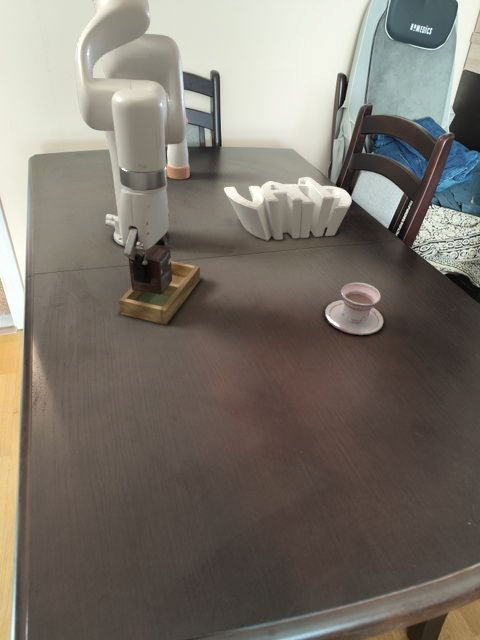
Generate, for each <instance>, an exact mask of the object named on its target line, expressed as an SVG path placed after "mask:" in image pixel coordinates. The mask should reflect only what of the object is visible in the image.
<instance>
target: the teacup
mask: <svg viewBox="0 0 480 640" xmlns="http://www.w3.org/2000/svg"><path fill="white" fill-rule="evenodd" d="M340 294H341V298H342V299H339V300H336V301H333V302H331V303H329V304H328V305H327V306H326V308H325V310H324V314H325V315H324V317H325V318H326V320H327V322H328V323H329V324H330V325H331V326H333V327H334V328H336V329H338V331H341V332H344V333H347V334H351V335H358V336H364V335H365V336H367V335H371V334H375V333H378V331H380V330H381V329H382V327H383V324H384V317H383V315H382V314H381V312H380V311H379V310H378V309H376V308H375V306H377V305H378V304H379V302H380V301H381V297H382V295H381V292H380V291H379V290H378V288H377V287H375V286H373V285H371V284H368V283H365V282H359V281H358V282H356V281H355V282H349V283H346V284H345V285H343V287H342V288H341V290H340Z"/></svg>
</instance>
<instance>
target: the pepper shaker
mask: <svg viewBox="0 0 480 640" xmlns="http://www.w3.org/2000/svg"><path fill="white" fill-rule="evenodd" d="M188 124H189V118H188V117H187V116H186V127H188ZM166 149H167V150H166V156H167V157H166V160H167V162H166V171H167V178H170V179H173V180H185V179H189V178H190V177H191V176H190V171H191V170H190V169H191V168H190V163H189V149H188V143H187V135H186V136H185V139H184V140H183V141H182V142H181V143H179V144H168V145H167V148H166Z"/></svg>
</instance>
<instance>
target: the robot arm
mask: <svg viewBox="0 0 480 640" xmlns="http://www.w3.org/2000/svg"><path fill="white" fill-rule="evenodd" d="M92 3H93V6H94V12H95V15H94V16H93V17H92V19H91V20H90V21H89V22H88V23H87V25H86V26H85V27H84V29H83V30H82V32H81V34H80V36H79V37H78V41H77V44H76V47H75V50H74V60H73V61H74V62H73V63H74V76H75V83H76V92H77V93H76V94H77V99H78V100H77V101H78V107H79V111H80V114H81V117H82V119H83V121H84V123H85V124H86V125H87V127H89V128H90V129H92V130H94V131H99V132H100V131H101V132H104V134H105V138H106V142H107V147H108V151H109V157H110V158H109V159H110V164H111V171H112V172H111V173H112V178H113V186H114V193H115V194H114V196H115V205H116V213H117V215H115V214H111V213H107V214H106V215H105V222H104V224H105V226H108V227H113V228H114V229H115V230H114V231H113V239H114V241H115V242H116V243H117V244H118V245H119V246H122V247H124V250H123V254H124V256H125V257H126V258H127V259H128V261H129V260H130V262H131V263H132V266H133V275H134V280H135V281H138V282H143V283H148V284H149V283H151V270H150V263H147V262H148V253H149V248H151V247H152V246H153V245H154V244H155V245H162V246H167V245H168V238H167V235H168V232H169V229H170V211H169V210H170V209H169V201H168V191H167V188H168V176H167V157H166V156H167V152H166V145H167V146H168V144H179V143H181V142H182V141H183V140H184V139H185V136H186V137H187V126H186V117H187V111H186V99H185V89H184V88H185V87H184V86H185V85H184V73H183V62H182V56H181V52H180V49H179V46H178V44H177V42H176V41H175V40H174V39H173V37H170V36H169V35H164V34H155V33H146V32H147V31H148V30H149V27H150V24H151V11H150V5H149V0H92ZM99 60H101V66H102V70H103V73H104V76H105V77H100V78H99V77H94V67H95V65H96V64H97V62H98V61H99ZM140 243H141V244H143V246H141V245H139V244H140ZM137 249H140V250H143V256H141V255H140V254H137Z"/></svg>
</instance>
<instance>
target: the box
mask: <svg viewBox="0 0 480 640" xmlns="http://www.w3.org/2000/svg"><path fill="white" fill-rule="evenodd" d="M139 245H141V246H143V244H141V243H140V244H139ZM137 254H140V255H141V256H143V250H140V249H137ZM171 261H172V254H171V246H167V245H166V246H165V245H164V246H162V245H155V244H154V245H153V246H152V247H151V248H149V253H148V262H147V263H150V270H151V283H149V284H148V283H143V282H138V281H135V280H134V275H133V266H132V263H131V262H130V260H129V259H128V266H129V277H130V285H131V287H132V290H135V291H140V292H147V293H152V294H158V295H162V294H163V292H164V291H165V290H166V289H167V287H168V286H169V284H170V283H171V281H172V268H171Z"/></svg>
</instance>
